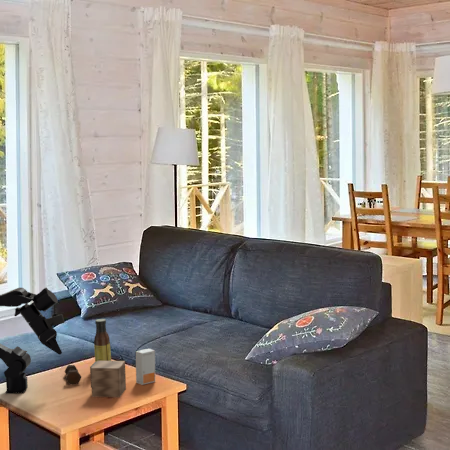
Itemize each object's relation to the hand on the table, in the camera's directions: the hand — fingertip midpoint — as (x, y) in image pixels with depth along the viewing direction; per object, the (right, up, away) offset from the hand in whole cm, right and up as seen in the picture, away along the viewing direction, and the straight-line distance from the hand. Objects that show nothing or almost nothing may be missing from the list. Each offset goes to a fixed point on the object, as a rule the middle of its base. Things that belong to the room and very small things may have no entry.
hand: (60, 353), depth 261 cm
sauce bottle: (+11, -11, +27) cm, 31 cm away
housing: (+17, -13, -2) cm, 22 cm away
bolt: (+1, -12, +15) cm, 20 cm away
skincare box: (+29, -12, +9) cm, 33 cm away
